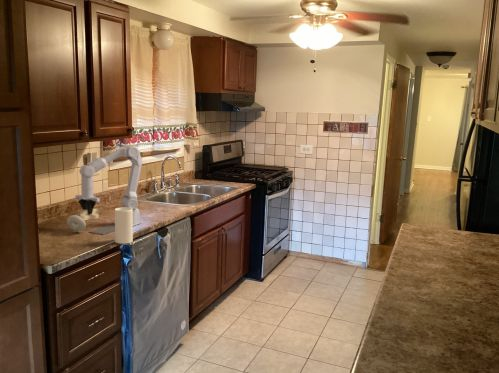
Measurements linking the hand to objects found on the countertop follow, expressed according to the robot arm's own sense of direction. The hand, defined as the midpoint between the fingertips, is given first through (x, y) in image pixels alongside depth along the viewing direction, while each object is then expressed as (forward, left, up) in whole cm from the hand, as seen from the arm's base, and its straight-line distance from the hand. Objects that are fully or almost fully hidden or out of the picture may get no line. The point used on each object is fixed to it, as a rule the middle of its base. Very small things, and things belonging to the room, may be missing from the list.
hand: (87, 213), depth 236 cm
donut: (+6, 0, -8) cm, 10 cm away
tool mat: (-4, +10, -8) cm, 13 cm away
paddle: (0, 0, -3) cm, 3 cm away
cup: (+9, +30, -9) cm, 32 cm away
